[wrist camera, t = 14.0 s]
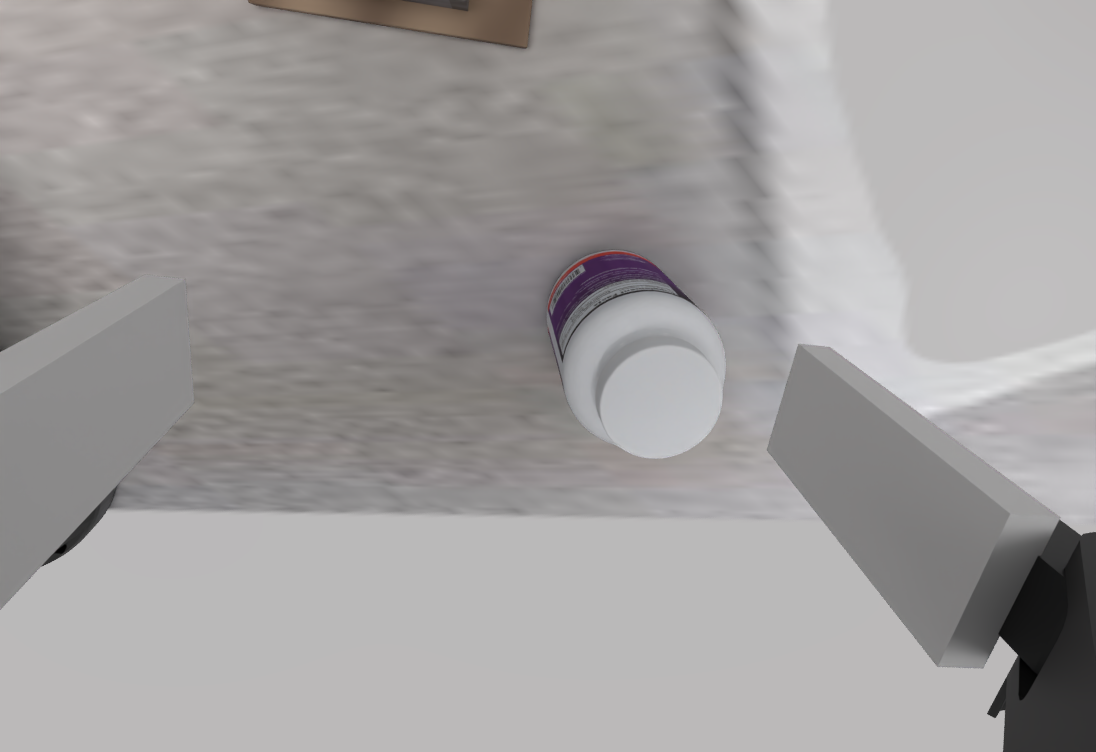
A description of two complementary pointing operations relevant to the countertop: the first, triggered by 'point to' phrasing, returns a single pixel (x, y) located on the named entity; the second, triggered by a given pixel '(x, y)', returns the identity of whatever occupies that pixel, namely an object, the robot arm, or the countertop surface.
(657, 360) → the pill bottle
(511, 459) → the countertop surface
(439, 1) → the bracket board
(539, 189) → the countertop surface
